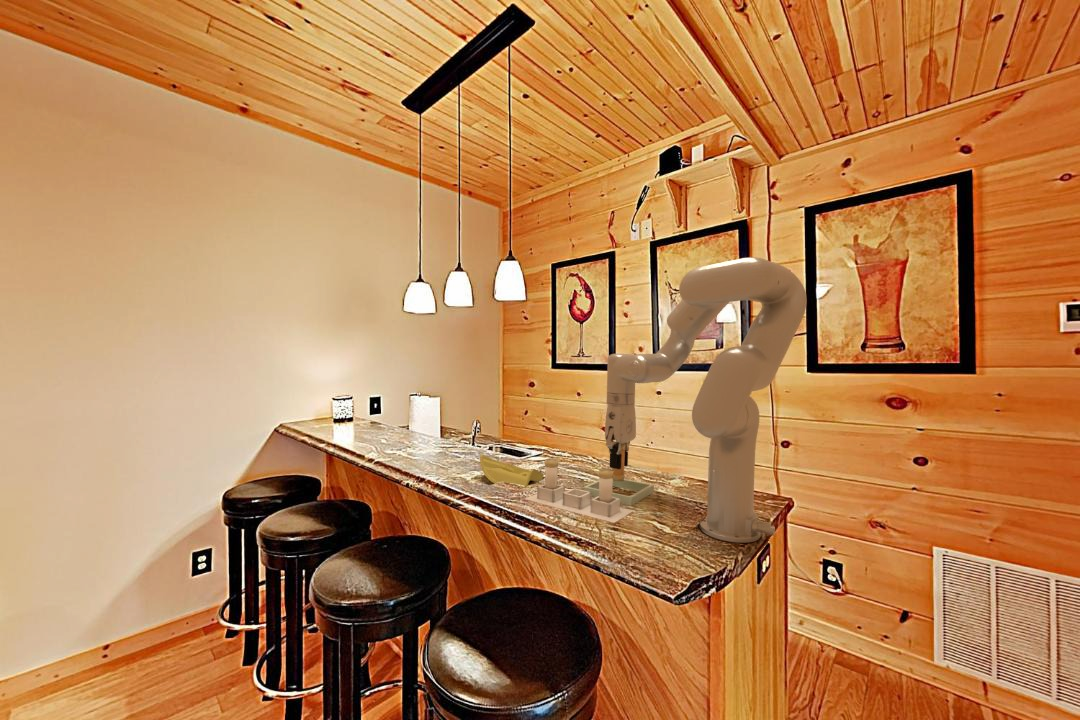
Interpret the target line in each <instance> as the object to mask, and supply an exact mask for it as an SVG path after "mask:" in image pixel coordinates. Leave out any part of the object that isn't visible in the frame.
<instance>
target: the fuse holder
mask: <svg viewBox="0 0 1080 720" xmlns="http://www.w3.org/2000/svg"><path fill="white" fill-rule="evenodd" d="M536 489H537V490H536V493H535V494H532V495H530V496H528V497H525V498H524V500H526V501H529V502H533V503H538V504H542V505H544V506H549V507H551V508H557V509H560V510H564V511H568V512H570V513H571V512H572V513H576V514H578V515H583V516H585V517H586V516H587V517H591V518H594V519H598V520H602V521H605V522H610V523H611V524H612V523H613V524H615V523H616V522H618V521H620V520H621V519H623V518H624V517H626V516H628V515H629V514H631V513H632V512H634V510H632V509H628V508H624V507H621V503H620V499H619V498H614V497H612V502H610V503H606V502H602V501H599V496H597V497H592V496H591V493H592V492H588V491H584V490H583V489H580V488H572V489H570V490H567V491H566V486H565V485H562V484H557V489H554V490H551V489H547V488H545V483H543V484H541V485H539V486H537V487H536Z"/></svg>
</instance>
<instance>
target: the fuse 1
mask: <svg viewBox="0 0 1080 720" xmlns="http://www.w3.org/2000/svg"><path fill="white" fill-rule="evenodd" d="M544 467H545V468H544V469H545V471H544V472H545V473H544V484H545V488H547V489H551V490H554V489H557V485H558V471H559V470H558V469H559V468H558V467H559V459H558V458H551V457H549V458H546V459H544Z"/></svg>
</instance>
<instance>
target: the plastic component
mask: <svg viewBox="0 0 1080 720" xmlns="http://www.w3.org/2000/svg"><path fill="white" fill-rule="evenodd" d="M479 459H480V461H479V462H480V467H481V470H482V472H483V474H484V475H485V477H486V478H487V479H488V480H489V481H490V482H491V483H493V484H498V483H500V482H503V483H508V484H514V485H520V486H523V487H528V486H529V483H530V481H531V482H534V483H538V482H540V481H542V480H543V478H544V477H545V473H543V472H541V471H540V470H537V469H535V468H531V470H530V469H526V468H523V467H519V466H516V465H512V464H508V463H505V462H501V461H500V460H496V459H493V458H492V457H489V456H487V455H485V454H480V457H479Z"/></svg>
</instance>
